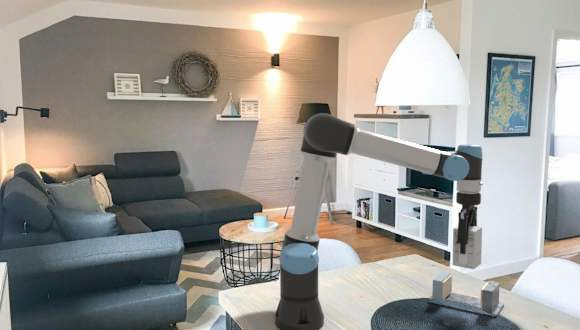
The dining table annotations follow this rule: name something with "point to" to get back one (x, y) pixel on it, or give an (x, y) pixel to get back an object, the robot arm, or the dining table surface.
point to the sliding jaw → (442, 286)
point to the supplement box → (469, 247)
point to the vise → (482, 298)
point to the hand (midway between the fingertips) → (466, 259)
